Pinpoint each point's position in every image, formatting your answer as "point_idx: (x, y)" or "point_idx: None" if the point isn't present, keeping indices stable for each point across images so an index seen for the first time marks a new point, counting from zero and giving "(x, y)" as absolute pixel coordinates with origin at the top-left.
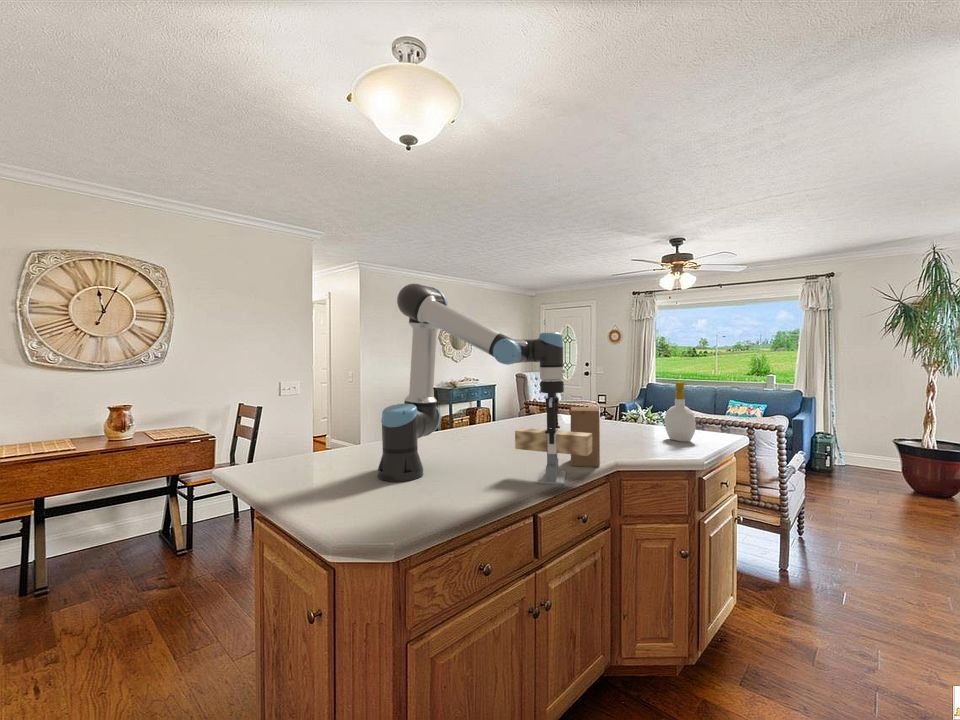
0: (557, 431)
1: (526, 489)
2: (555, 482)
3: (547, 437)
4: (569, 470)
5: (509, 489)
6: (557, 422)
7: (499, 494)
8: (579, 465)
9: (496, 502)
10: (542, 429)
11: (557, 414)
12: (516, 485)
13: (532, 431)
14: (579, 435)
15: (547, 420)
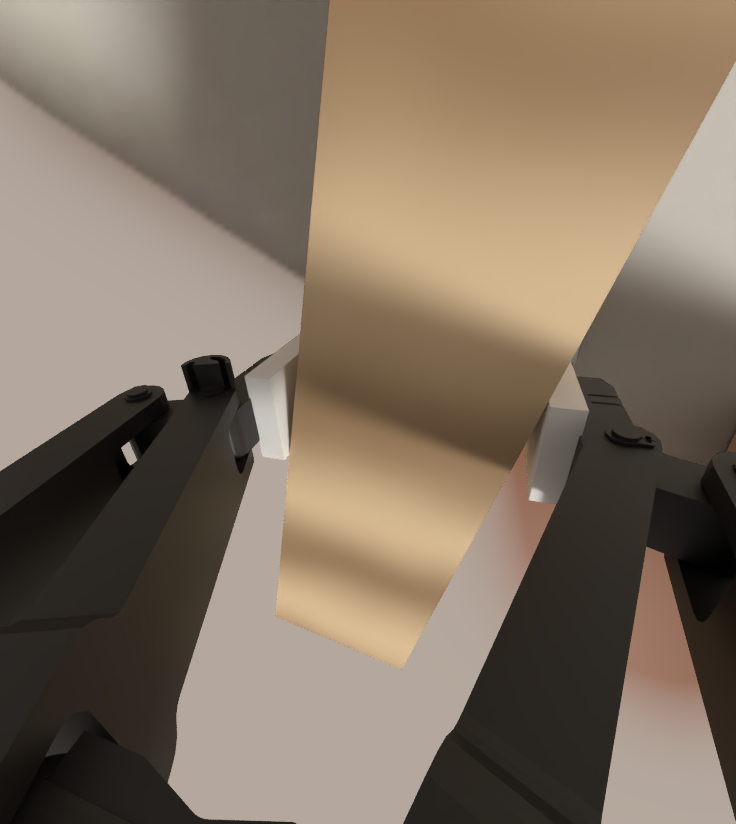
0: (439, 479)
1: (229, 164)
2: None
3: (268, 358)
4: (631, 378)
5: (191, 53)
6: (672, 580)
7: (99, 15)
8: (731, 441)
9: (13, 47)
10: (603, 292)
11: (733, 753)
12: (269, 78)
13: (381, 124)
14: (294, 590)
15: (7, 478)
